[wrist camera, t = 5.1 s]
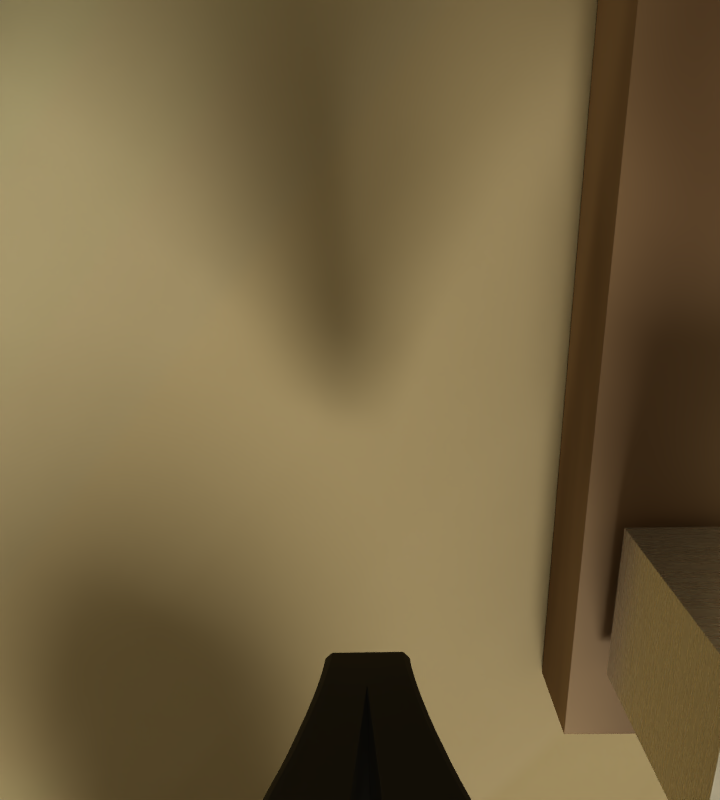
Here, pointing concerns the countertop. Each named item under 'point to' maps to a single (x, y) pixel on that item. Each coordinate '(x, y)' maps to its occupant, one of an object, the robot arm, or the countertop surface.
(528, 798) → the countertop surface
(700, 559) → the slider knob
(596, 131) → the brown flat board
